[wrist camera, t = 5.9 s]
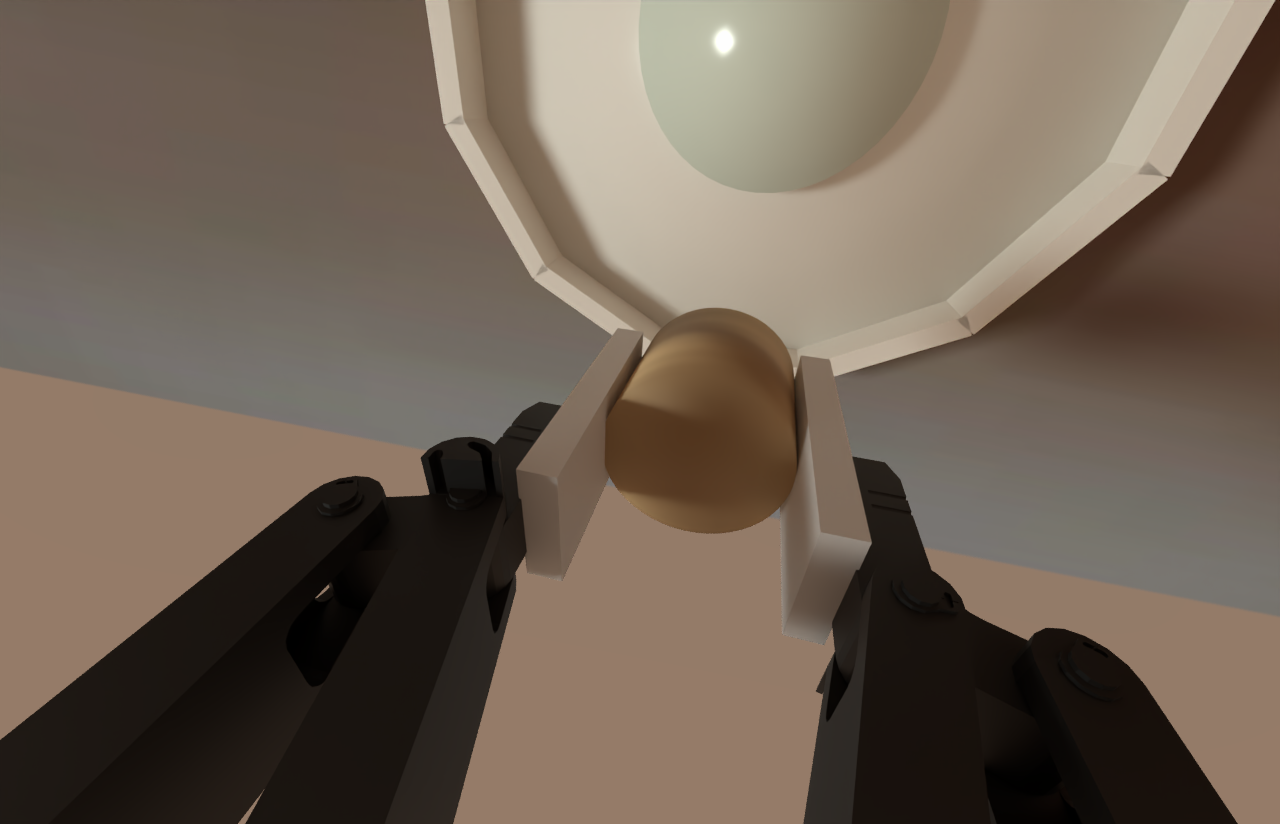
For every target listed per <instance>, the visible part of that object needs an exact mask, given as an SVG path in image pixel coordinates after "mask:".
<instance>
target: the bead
mask: <svg viewBox="0 0 1280 824" xmlns="http://www.w3.org/2000/svg"><path fill="white" fill-rule="evenodd" d="M605 467H606V470H607V472H608V474H609V476H610V478H611V480H612V482H613V483H614V485H615V486H616V488H617V489H618V490H619V492H620V493H621V494H622V495H623V496H624V497H625V498H626V499H627V500H628V501H629V502H630V503H631V504H632V505H633V506H634V507H636V508H637V509H639V510H640V511H641V512H643V513H644V514H646V515H647V516H649V517H651V518H652V519H654V520H657V521H659V522H661V523H663V524H665V525H668V526H671V527H674V528H677V529H681V530H684V531H690V532H696V533H726V532H733V531H737V530H742V529H744V528H747V527H751V526H753V525H755V524H757V523H759V522H761V521H763V520H764V519H766V518H767V517H769V516H770V515H772V514H773V513H774V512H775V511H776V510H777V509H778V508H779V507H780V506H781V505H782V504H783V503H784V501H785V500H786V498H787V497H788V495H789V494H790V492H791V489H792V487H793V484H794V481H795V477H796V472H797V449H796V417H795V385H794V369H793V364H792V360H791V357H790V355H789V352H788V350H787V348H786V346H785V345H784V343H783V342H782V340H781V339H780V338H779V336H778V335H777V334H776V333H775V332H774V331H773V330H772V329H771V328H770V327H768V326H767V325H766V324H765V323H763V322H762V321H760V320H759V319H757V318H755V317H753V316H751V315H749V314H746V313H743V312H740V311H737V310H732V309H727V308H704V309H698V310H694V311H690V312H687V313H685V314H682V315H680V316H678V317H676V318H675V319H673V320H671V321H670V322H668V323H667V324H666V325H665V326H664V327H663V328H661V330H660V331H659V332H658V333H657V334H656V335H655V337H654V338H653V340H652V341H651V343H650V345H649V346H648V348H647V350H646V351H645V353H644V355H643V357H642V358H641V360H640V362H639V363H638V365H637V367H636V369H635V370H634V372H633V374H632V376H631V377H630V379H629V381H628V382H627V384H626V386H625V388H624V389H623V391H622V393H621V394H620V396H619V398H618V400H617V401H616V403H615V405H614V407H613V408H612V410H611V412H610V413H609V415H608V418H607V420H606V424H605Z"/></svg>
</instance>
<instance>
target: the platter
mask: <svg viewBox="0 0 1280 824" xmlns="http://www.w3.org/2000/svg"><path fill="white" fill-rule="evenodd" d="M425 2H426V8H427V15H428V22H429V29H430V35H431V42H432V49H433V55H434V62H435V69H436V75H437V82H438V89H439V96H440V102H441V109H442V116H443V122H444V124H447V125H446V126H445V128H446V129H447V131H448V133H449V135H450V136H451V138H452V140H453V142H454V143H455V145H456V147H457V148H458V150H459V152H460V154H461V155H462V157H463V159H464V161H465V162H466V164H467V166H468V168H469V169H470V171H471V173H472V174H473V176H474V178H475V180H476V181H477V183H478V185H479V187H480V188H481V190H482V192H483V193H484V195H485V197H486V199H487V200H488V202H489V204H490V206H491V207H492V209H493V211H494V212H495V214H496V216H497V218H498V219H499V221H500V223H501V225H502V226H503V228H504V230H505V231H506V233H507V235H508V237H509V238H510V240H511V242H512V244H513V245H514V247H515V249H516V250H517V252H518V254H519V256H520V257H521V259H522V261H523V263H524V264H525V266H526V268H527V269H528V271H529V273H530V275H531V276H532V278H535V279H534V280H535V281H536V282H538V283H539V284H541V285H542V286H543V287H545V288H546V289H548V290H549V291H550V292H552V293H553V294H555V295H556V296H558V297H559V298H560V299H562V300H563V301H565V302H566V303H567V304H569V305H570V306H572V307H573V308H575V309H576V310H577V311H579V312H580V313H582V314H583V315H584V316H586V317H587V318H589V319H590V320H592V321H593V322H594V323H596V324H597V325H599V326H600V327H601V328H603V329H604V330H606V331H607V332H609V333H610V334H611V335H613V334H614V333H615V331H616V330H617V328H621V329H628V330H634V331H641V332H643V347H642V357H643V355H644V353H645V351H646V350H647V348H648V346H649V345H650V343H651V341H652V340H653V338H654V337H655V335H656V334H657V333H658V332H659V331H660V330H661V328H663V327H664V326H665V325H666V324H667V323H668V322H670V321H671V320H673V319H675V318H676V317H678V316H680V315H682V314H685V313H687V312H690V311H694V310H698V309H704V308H727V309H732V310H737V311H740V312H743V313H746V314H749V315H751V316H753V317H755V318H757V319H759V320H760V321H762V322H763V323H765V324H766V325H767V326H768V327H770V328H771V329H772V330H773V331H774V332H775V333H776V334H777V335H778V336H779V338H780V339H781V340H782V342H783V343H784V345H785V346H786V348H787V350H788V352H789V355H790V357H791V360H792V364H793V369H794V379H795V375H796V371H797V368H798V364H799V360H800V356H801V355H803V356H809V357H816V358H823V359H830V362H831V366H832V371H833V375H834V376H837V375H841V374H844V373H847V372H851V371H854V370H858V369H861V368H864V367H868V366H871V365H874V364H878V363H881V362H885V361H888V360H891V359H895V358H898V357H901V356H905V355H908V354H912V353H915V352H918V351H922V350H925V349H928V348H932V347H935V346H939V345H942V344H945V343H949V342H952V341H955V340H959V339H962V338H966V337H969V336H971V333H973V334H975V333H976V332H978V331H979V330H980V329H981V328H983V327H984V326H985V325H986V324H988V323H989V322H990V321H991V320H993V319H994V318H995V317H996V316H998V315H999V314H1000V313H1001V312H1003V311H1004V310H1005V309H1006V308H1008V307H1009V306H1010V305H1011V304H1013V303H1014V302H1015V301H1016V300H1018V299H1019V298H1020V297H1021V296H1023V295H1024V294H1025V293H1027V292H1028V291H1029V290H1030V289H1032V288H1033V287H1034V286H1035V285H1037V284H1038V283H1039V282H1040V281H1042V280H1043V279H1044V278H1045V277H1047V276H1048V275H1049V274H1050V273H1052V272H1053V271H1054V270H1055V269H1057V268H1058V267H1059V266H1060V265H1062V264H1063V263H1064V262H1065V261H1067V260H1068V259H1069V258H1070V257H1072V256H1073V255H1074V254H1075V253H1077V252H1078V251H1079V250H1080V249H1082V248H1083V247H1084V246H1085V245H1087V244H1088V243H1089V242H1090V241H1092V240H1093V239H1094V238H1095V237H1097V236H1098V235H1099V234H1100V233H1102V232H1103V231H1104V230H1105V229H1107V228H1108V227H1109V226H1110V225H1112V224H1113V223H1114V222H1115V221H1117V220H1118V219H1119V218H1120V217H1122V216H1123V215H1124V214H1125V213H1127V212H1128V211H1129V210H1130V209H1132V208H1133V207H1134V206H1135V205H1137V204H1138V203H1139V202H1140V201H1142V200H1143V199H1144V198H1145V197H1147V196H1148V195H1149V194H1151V193H1152V192H1153V191H1154V190H1156V189H1157V188H1158V187H1159V186H1161V185H1162V184H1163V183H1164V182H1166V181H1167V180H1168V179H1167V178H1166V177H1165V176H1169V177H1171V175H1172V174H1173V172H1174V170H1175V168H1176V167H1177V165H1178V163H1179V162H1180V160H1181V158H1182V157H1183V155H1184V153H1185V152H1186V150H1187V148H1188V147H1189V145H1190V143H1191V141H1192V140H1193V138H1194V136H1195V135H1196V133H1197V131H1198V130H1199V128H1200V126H1201V125H1202V123H1203V121H1204V120H1205V118H1206V116H1207V115H1208V113H1209V111H1210V109H1211V108H1212V106H1213V104H1214V103H1215V101H1216V99H1217V98H1218V96H1219V94H1220V93H1221V91H1222V89H1223V88H1224V86H1225V84H1226V83H1227V81H1228V79H1229V77H1230V76H1231V74H1232V72H1233V71H1234V69H1235V67H1236V66H1237V64H1238V62H1239V61H1240V59H1241V57H1242V56H1243V54H1244V52H1245V51H1246V49H1247V47H1248V45H1249V44H1250V42H1251V40H1252V39H1253V37H1254V35H1255V34H1256V32H1257V30H1258V29H1259V27H1260V25H1261V24H1262V22H1263V20H1264V19H1265V17H1266V15H1267V13H1268V12H1269V10H1270V8H1271V7H1272V5H1273V3H1274V2H1275V0H425Z"/></svg>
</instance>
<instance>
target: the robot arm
mask: <svg viewBox="0 0 1280 824" xmlns="http://www.w3.org/2000/svg"><path fill="white" fill-rule="evenodd" d="M642 347H643V332H641V331H634V330H628V329H621V328H617V330H616V331H615V333H614V334H613V335H612V337H611V338H610V339H609V341H608V342H607V344H606V345H605V346H604V348H603V349H602V351H601V352H600V353H599V355H598V356H597V358H596V359H595V360H594V362H593V363H592V364H591V366H590V367H589V369H588V370H587V371H586V373H585V374H584V376H583V377H582V378H581V380H580V381H579V383H578V384H577V385H576V387H575V388H574V389H573V391H572V392H571V394H570V395H569V396H568V398H567V399H566V401H565V402H564V403H563V405H562V406H560V405H554V404H548V403H543V402H538V403H537V404H535V405H533V406H531V407H529V408H528V409H526V410H524V411H522V412H521V414H520V415H519V416H518V417H517V418H516V420H515V421H514V422H513V423H512V426H511V427H509V428H508V429H507V430H506V432H505V433H504V434H503V437H500V439H499V440H498V441H497V442H496V443H495V445H494V444H493V443H491V442H489V441H487V440H485V439H481V438H475V437H461V438H454V439H451V440H447V441H443V442H441V443H439V444H437V445H435V446H434V447H432V448H430V449H429V450H428V451H427V452H426V453H425V454H424V455H423V456H422V457H421V461H422V465H423V469H424V473H425V477H426V481H427V485H428V489H429V493H430V494H429V495H424V496H404V497H386V495H385V492H384V489H383V487H382V486H381V484H380V483H379V482H378V481H376V480H374V479H372V478H370V477H360V476H352V477H346V478H340V479H337V480H334V481H331V482H329V483H326V484H323V485H322V486H320V487H319V488H317V489H315V490H314V491H312V492H310V493H309V494H308V495H307V496H305V497H304V498H303V499H302V500H300V501H299V502H298V503H297V504H295V505H294V506H293V507H292V508H290V509H289V510H288V511H287V512H285V513H284V514H283V515H281V516H280V517H279V518H278V519H277V520H275V521H274V522H273V523H272V524H270V525H269V526H268V527H266V528H265V529H264V530H263V531H261V532H260V533H259V534H258V535H257V536H255V537H254V538H253V539H251V540H250V541H249V542H248V543H246V544H245V545H244V546H243V547H241V548H240V549H239V550H238V551H236V552H235V553H234V554H233V555H232V556H230V557H229V558H228V559H226V560H225V561H224V562H223V563H221V564H220V565H219V566H218V567H217V568H215V569H214V570H213V571H211V572H210V573H209V574H208V575H206V576H205V577H204V578H203V579H202V580H200V581H199V582H198V583H196V584H195V585H194V586H193V587H191V588H190V589H189V590H188V591H186V592H185V593H184V594H183V595H181V596H180V597H179V598H178V599H176V600H175V601H174V602H173V603H172V604H170V605H169V606H168V607H166V608H165V609H164V610H163V611H161V612H160V613H159V614H158V615H156V616H155V617H154V618H153V619H151V620H150V621H149V622H147V623H146V624H145V625H144V626H142V627H141V628H140V629H139V630H137V631H136V632H135V633H134V634H132V635H131V636H130V637H129V638H127V639H126V640H125V641H124V642H123V643H121V644H120V645H119V646H117V647H116V648H115V649H114V650H112V651H111V652H110V653H109V654H107V655H106V656H105V657H104V658H102V659H101V660H100V661H99V662H97V663H96V664H95V665H94V666H92V667H91V668H90V669H89V670H87V671H86V672H85V673H84V674H82V675H81V676H80V677H79V678H77V679H76V680H75V681H74V682H72V683H71V684H70V685H69V686H67V687H66V688H65V689H64V690H62V691H61V692H60V693H59V694H57V695H56V696H55V697H54V698H52V699H51V700H50V701H49V702H47V703H46V704H45V705H44V706H42V707H41V708H40V709H39V710H37V711H36V712H35V713H34V714H32V715H31V716H30V717H29V718H27V719H26V720H25V721H23V722H22V723H21V724H20V725H18V726H17V727H16V728H15V729H14V730H12V731H11V732H10V733H8V734H7V735H6V736H5V737H4V738H2V739H1V740H0V824H238V823H239V821H240V820H241V819H242V818H243V816H244V815H245V814H246V812H247V811H248V810H249V808H250V807H251V806H252V805H253V803H254V802H255V801H256V799H257V798H258V797H259V796H260V794H261V793H262V792H263V793H262V795H261V797H260V799H259V800H258V802H257V804H256V806H255V808H254V809H253V811H252V813H251V815H250V816H249V818H248V820H247V822H246V824H453V822H454V818H455V815H456V811H457V807H458V803H459V800H460V796H461V792H462V789H463V785H464V781H465V777H466V774H467V770H468V766H469V763H470V759H471V755H472V751H473V748H474V744H475V740H476V737H477V733H478V729H479V726H480V722H481V718H482V714H483V711H484V707H485V703H486V699H487V696H488V692H489V688H490V684H491V681H492V677H493V673H494V670H495V666H496V662H497V659H498V655H499V651H500V648H501V644H502V640H503V637H504V633H505V629H506V625H507V622H508V618H509V614H510V611H511V607H512V603H513V599H514V596H515V592H516V575H515V572H516V570H517V569H518V567H519V565H520V563H521V562H522V560H523V558H524V556H525V557H526V567H527V573H530V574H535V575H539V576H543V577H547V578H551V579H555V580H559V581H563V578H564V576H565V574H566V571H567V569H568V567H569V565H570V563H571V561H572V558H573V556H574V554H575V552H576V549H577V547H578V545H579V543H580V540H581V538H582V536H583V534H584V532H585V529H586V527H587V525H588V523H589V521H590V518H591V516H592V514H593V512H594V509H595V507H596V505H597V503H598V501H599V498H600V496H601V494H602V492H603V489H604V487H605V485H606V483H607V481H608V478H609V474H608V472H607V470H606V467H605V424H606V420H607V418H608V415H609V413H610V412H611V410H612V408H613V407H614V405H615V403H616V401H617V400H618V398H619V396H620V394H621V393H622V391H623V389H624V388H625V386H626V384H627V382H628V381H629V379H630V377H631V376H632V374H633V372H634V370H635V369H636V367H637V365H638V363H639V362H640V360H641V358H642ZM794 385H795V417H796V449H797V472H796V477H795V481H794V484H793V487H792V489H791V492H790V494H789V495H788V497H787V498H786V500H785V501H784V503H783V504H782V505H781V506H780V527H781V528H780V532H781V533H780V534H781V591H782V592H781V593H782V635H785V636H790V637H794V638H798V639H802V640H806V641H810V642H814V643H818V644H822V645H824V644H825V642H826V640H827V638H828V636H829V633H830V631H831V629H832V628H833V637H834V646H835V652H834V654H833V657H832V658H831V661H830V662H829V664H828V666H827V668H826V671H825V673H824V675H823V677H822V679H821V681H820V683H819V685H818V688H817V690H816V692H818V693H821V694H822V693H823V699H822V705H821V712H820V719H819V726H818V732H817V738H816V745H815V751H814V758H813V764H812V772H811V778H810V785H809V791H808V797H807V804H806V811H805V817H804V824H1238V823H1237V822H1236V821H1235V819H1234V817H1233V816H1232V814H1231V813H1230V812H1229V810H1228V808H1227V807H1226V806H1225V804H1224V803H1223V801H1222V800H1221V798H1220V797H1219V795H1218V794H1217V792H1216V791H1215V789H1214V788H1213V786H1212V785H1211V783H1210V782H1209V780H1208V779H1207V777H1206V776H1205V774H1204V773H1203V771H1202V770H1201V768H1200V767H1199V765H1198V764H1197V762H1196V761H1195V759H1194V758H1193V756H1192V755H1191V753H1190V752H1189V750H1188V749H1187V747H1186V746H1185V744H1184V743H1183V741H1182V740H1181V738H1180V737H1179V735H1178V734H1177V732H1176V731H1175V730H1174V728H1173V726H1172V725H1171V723H1170V722H1169V720H1168V719H1167V717H1166V716H1165V714H1164V713H1163V711H1162V710H1161V708H1160V707H1159V705H1158V704H1157V702H1156V701H1155V699H1154V698H1153V696H1152V695H1151V694H1150V692H1149V690H1148V689H1147V687H1146V686H1145V685H1144V683H1143V682H1142V681H1141V680H1140V679H1139V678H1138V676H1137V675H1136V674H1135V673H1134V672H1133V671H1132V669H1130V667H1129V666H1128V665H1127V664H1125V663H1124V662H1123V661H1122V660H1121V659H1119V658H1118V657H1117V656H1116V655H1115V654H1113V653H1112V652H1111V651H1110V650H1108V649H1107V648H1105V647H1103V646H1102V645H1100V644H1098V643H1096V642H1094V641H1093V640H1091V639H1089V638H1087V637H1086V636H1083V635H1080V634H1077V633H1075V632H1072V631H1069V630H1066V629H1057V628H1045V629H1043V630H1041V631H1039V632H1036V633H1034V635H1033V636H1032V637H1031V638H1030V639H1029V640H1028V641H1027V640H1026V639H1023V638H1021V637H1019V636H1017V635H1014V634H1012V633H1010V632H1008V631H1006V630H1004V629H1002V628H999V627H997V626H995V625H993V624H991V623H989V622H986V621H984V620H983V619H980V618H979V617H977V616H975V615H973V614H972V613H970V612H968V611H967V610H966V609H965V607H964V604H963V601H962V599H961V597H960V596H959V595H958V594H957V592H956V591H955V590H954V588H953V587H952V586H951V585H950V584H949V583H948V582H947V581H946V580H944V579H943V578H941V577H940V576H939V575H938V574H936V573H935V572H933V571H932V570H931V567H930V564H929V562H928V559H927V556H926V553H925V550H924V547H923V544H922V541H921V538H920V535H919V533H918V530H917V527H916V524H915V521H914V518H913V516H912V515H911V509H910V506H909V504H908V501H907V500H906V495H905V492H904V489H903V486H902V483H901V480H900V479H899V478H898V476H897V475H896V474H895V473H894V472H893V471H892V470H891V469H890V468H889V467H888V465H887V464H886V463H885V462H880V461H874V460H869V459H863V458H857V457H852V454H851V449H850V445H849V441H848V436H847V432H846V428H845V423H844V419H843V414H842V410H841V406H840V401H839V397H838V392H837V388H836V384H835V379H834V375H833V371H832V366H831V362H830V359H823V358H816V357H809V356H803V355H801V356H800V360H799V364H798V368H797V371H796V375H795V379H794ZM328 584H329V588H328V589H327V591H326V592H324V593H323V594H322V595H320V596H319V597H318V598H315V597H316V596H318V594H319V593H320V592H321V591H322V590H323V589H324V588H325V587H326V586H327V585H328ZM264 789H265V790H264ZM263 790H264V791H263Z"/></svg>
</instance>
